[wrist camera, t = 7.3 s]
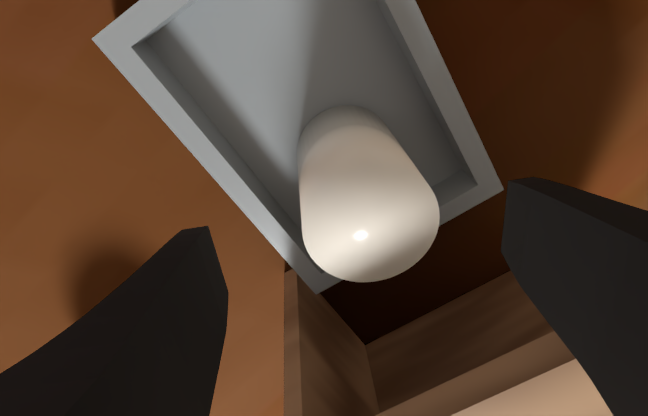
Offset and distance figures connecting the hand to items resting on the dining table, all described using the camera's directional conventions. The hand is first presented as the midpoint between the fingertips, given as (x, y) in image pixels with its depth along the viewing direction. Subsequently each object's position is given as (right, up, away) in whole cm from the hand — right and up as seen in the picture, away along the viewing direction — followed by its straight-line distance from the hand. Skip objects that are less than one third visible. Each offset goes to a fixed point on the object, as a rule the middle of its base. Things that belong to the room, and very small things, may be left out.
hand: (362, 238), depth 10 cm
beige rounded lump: (0, +3, +9) cm, 9 cm away
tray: (-1, +5, +8) cm, 10 cm away
